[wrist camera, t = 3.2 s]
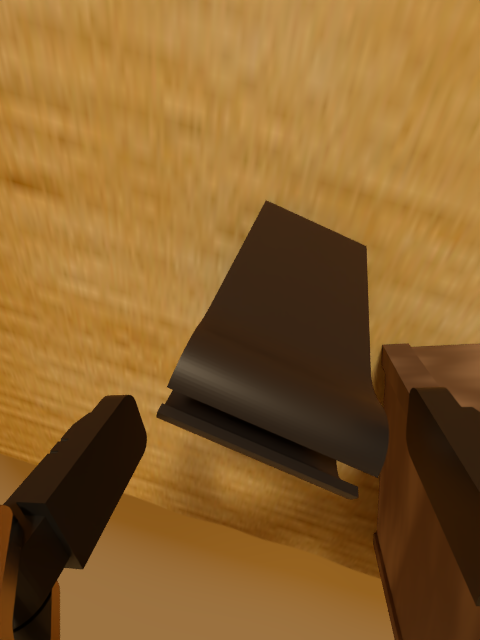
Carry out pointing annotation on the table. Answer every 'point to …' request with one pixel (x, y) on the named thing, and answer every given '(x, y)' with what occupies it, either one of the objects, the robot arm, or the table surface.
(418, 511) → the wooden crate
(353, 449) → the phone stand
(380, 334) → the table surface
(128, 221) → the table surface
